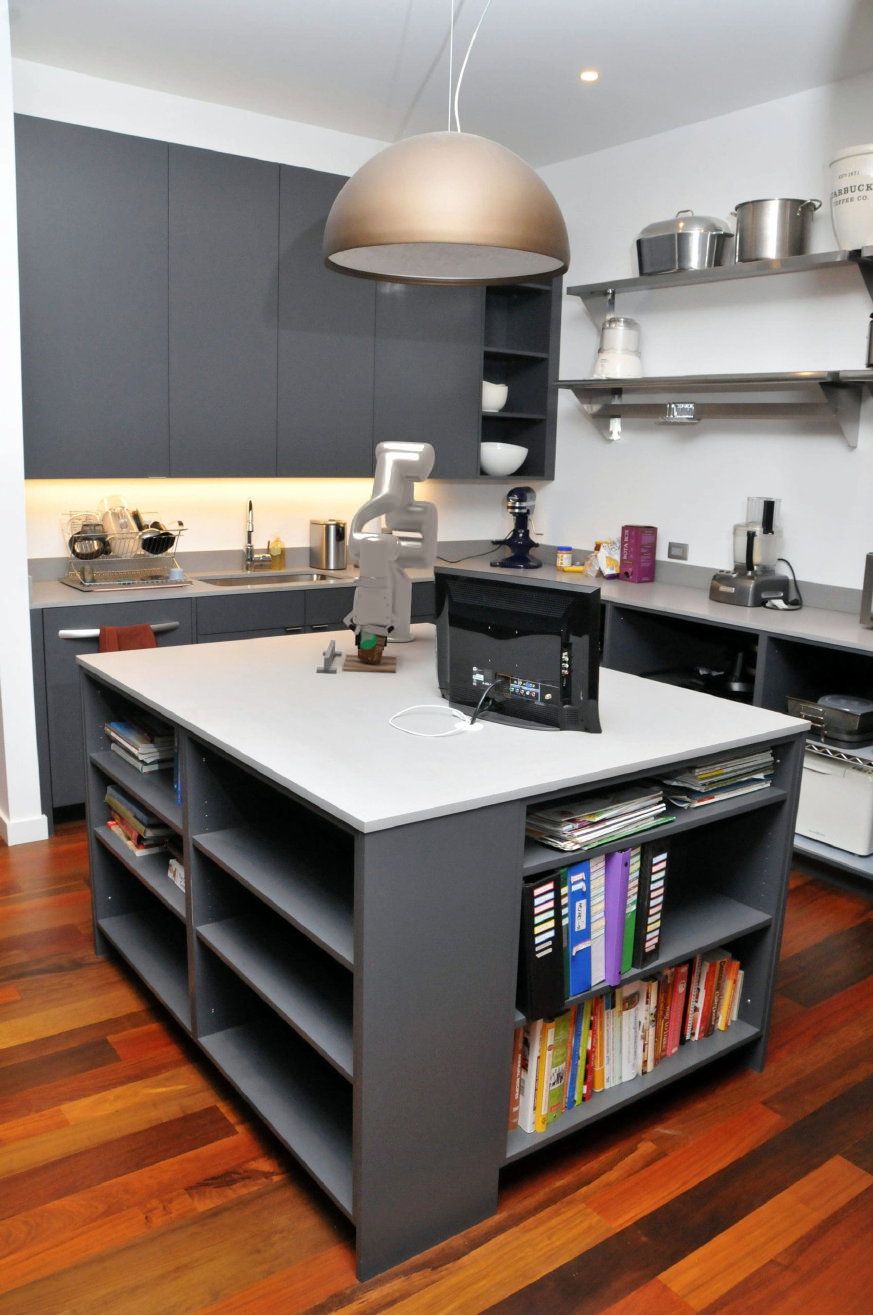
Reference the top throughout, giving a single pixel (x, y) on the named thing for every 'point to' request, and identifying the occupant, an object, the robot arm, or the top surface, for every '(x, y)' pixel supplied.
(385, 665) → the walnut board
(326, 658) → the grey footed rail
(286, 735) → the top surface
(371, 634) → the food container
